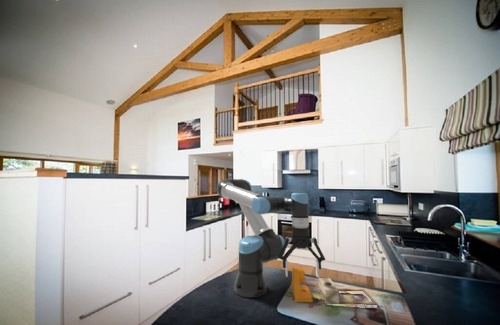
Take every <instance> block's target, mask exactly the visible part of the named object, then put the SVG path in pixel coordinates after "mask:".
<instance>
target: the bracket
mask: <svg viewBox="0 0 500 325" xmlns="http://www.w3.org/2000/svg"><path fill="white" fill-rule="evenodd" d="M291 269H292V270H291V282H290V283H291V284H290V285H291V287H290V288H291V292H292V293H293V294H292V293H291V294H292V296H293V299H294V302H295V303H297V302H299V303H301V302H302V303H312V302H313V295H312V293H311V290H310V288H309V286H307V285H304V284H301V283H304V282H306V274H305V270H304V268H303V267H292V268H291Z"/></svg>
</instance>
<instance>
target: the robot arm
mask: <svg viewBox="0 0 500 325" xmlns="http://www.w3.org/2000/svg"><path fill="white" fill-rule="evenodd" d="M252 188H253V187H252V185H251V183H250V181H248V180H247V179H243V178H241V179H237V178H236V179H235V178H225V179H221V180H220V181H219V182H218V183H217V185H216V193H217V195H218V196H220V197H221V198H223V199H225V200H232V201H234V203H236V204H239V207H240V208H241V211H242V212H243V215H244V217H245V219H246V220H247V222H248V224H249V226H250V229H251V231H252V232H253V234H254V235H247V236H245V237H244V236H243V237H242V238H241V239H240V240H239V244H238V270H237V271H238V273H237V275H236V277H235V278H236V279H235V282H234V288H233V290H234V292H235V294H237V295H238V296H240V297H243V298H249V299H250V298H259V297H261V296H263V295H265V294H266V293H267V282H266V278H265V274H264V264H265V263H269V262H273V261H277V260H282V267H283V268H284V270H285V272H284V273H285V277H287V278H288V274H289V273H288V271H289V270H288V258H289V257H290V256H291V254H292V253H293V252H294V250H296V248H297V249H299V250H300V249H308V251H309V252H310V253H311V254H312V255H313V256H314V258H315V259H316V260H315V276H316V278H317V279H319V278H320V270H322V262H323V261H325V260H326V258H325V256H324V254H323V252H322V249H321V247H320V246H319V244H318V240H317V238H316V237H312V238H310V228H309V226H310V220H309V218H310V217H309V198H308V197H309V196H308V194H307V193H306V192H292V193H291V196H282V195H281V196H264V195H262V194H259V193H255V192H253V190H252ZM276 213H291V226H292V228H291V230H292V231H291V232H292V234H291V237H288V236H285V239H284V237H283V236H282V235H279V234H277V233H275V230H274V229H273V228H270V227H269V226H268V224H267V223H266V221H265V218H264V217H263V215H266V214H267V215H268V214H276ZM291 242H292V245H291V246H290V248H289V249H288V250H287V247H288V245H289V244H290V243H291ZM310 243H312V244H314V246H315V248H316V250H317V253H318V254H317V253H316V252H315V251H314V250H313V248H312V247H311V246H310V245H309V244H310ZM286 250H287V251H286ZM318 255H319V256H318Z"/></svg>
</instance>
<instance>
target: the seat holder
mask: <svg viewBox="0 0 500 325" xmlns="http://www.w3.org/2000/svg"><path fill="white" fill-rule="evenodd" d="M319 291H320V292H319ZM339 291H363V292H364V293H365V294H366V295H367V296H368V297H369V298H370V299H371V301H372V302H369V301H359V300H357V301H356V300H344V299H343V300H340V298H339V297H340V296H339ZM318 292H319V293H321V294H320V296H321V295H322V296H321V298H322V297H323V298H322V300H323V299H324V300H325V302H326V304H364V305H365V304H366V305H378V306H379V304H378V303H377V301H376V300H375V299H374V298H373V297H372V296H371V295H370V294H369V293H368V292H367V291H366V290H365V289H364V288H349V287H346V288H345V287H344V288H343V287H337V286H336V285H335V284H334V282H333V281H332V279H331V278H329V277H328V278H327V277H319V278H318ZM324 300H323V301H324ZM325 302H324V303H325ZM326 304H325V305H326Z"/></svg>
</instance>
